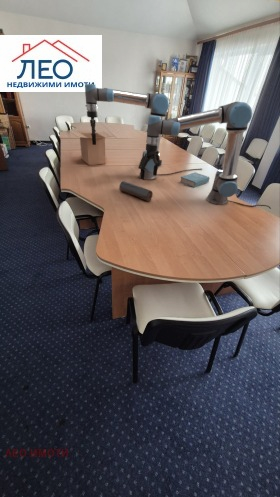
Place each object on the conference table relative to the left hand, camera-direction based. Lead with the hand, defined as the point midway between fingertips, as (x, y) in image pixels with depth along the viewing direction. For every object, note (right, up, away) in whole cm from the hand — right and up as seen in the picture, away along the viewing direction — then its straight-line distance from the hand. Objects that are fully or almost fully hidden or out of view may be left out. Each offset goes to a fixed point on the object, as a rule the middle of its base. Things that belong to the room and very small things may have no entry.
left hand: (94, 142), depth 172 cm
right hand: (+42, -33, -19) cm, 56 cm away
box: (-14, +11, +65) cm, 68 cm away
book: (+85, -22, +31) cm, 93 cm away
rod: (+32, -42, -2) cm, 53 cm away
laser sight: (+47, +9, +68) cm, 83 cm away
